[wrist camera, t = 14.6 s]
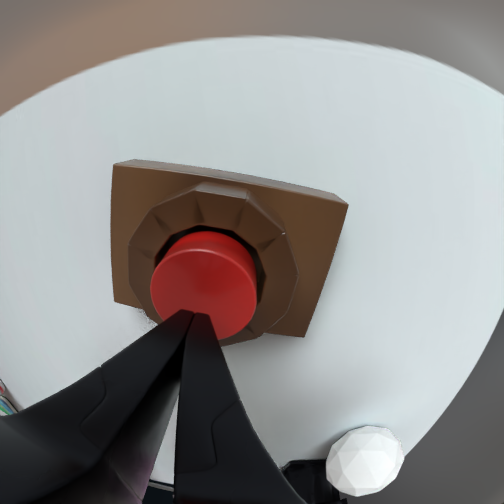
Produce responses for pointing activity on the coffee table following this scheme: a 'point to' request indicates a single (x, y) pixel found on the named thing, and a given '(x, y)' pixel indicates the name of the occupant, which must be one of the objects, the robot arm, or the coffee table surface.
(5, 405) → the smartphone
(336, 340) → the coffee table surface
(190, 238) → the button
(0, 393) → the pill bottle
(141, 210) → the button block
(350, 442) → the geometric ball
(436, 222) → the coffee table surface
